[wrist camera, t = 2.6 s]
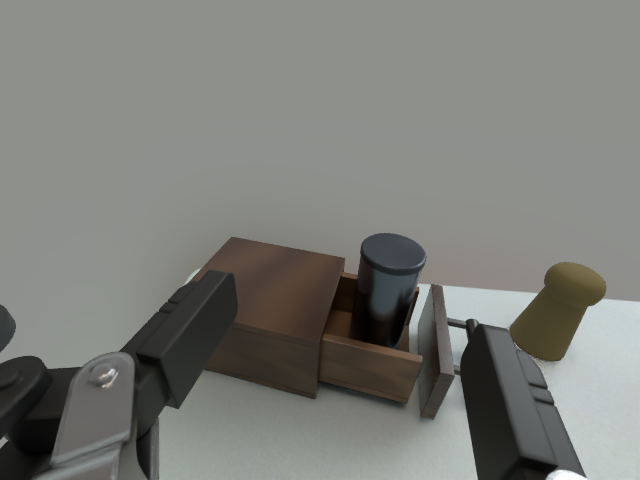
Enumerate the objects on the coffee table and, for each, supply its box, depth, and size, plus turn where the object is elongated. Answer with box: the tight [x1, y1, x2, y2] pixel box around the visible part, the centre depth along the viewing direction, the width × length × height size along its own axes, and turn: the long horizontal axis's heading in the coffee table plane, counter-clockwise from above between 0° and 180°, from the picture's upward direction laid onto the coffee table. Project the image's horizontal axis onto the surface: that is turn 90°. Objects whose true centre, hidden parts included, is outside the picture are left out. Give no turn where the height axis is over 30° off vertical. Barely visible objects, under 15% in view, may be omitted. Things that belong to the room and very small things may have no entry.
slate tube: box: [348, 233, 426, 350], centre depth 30 cm, size 6×6×13 cm
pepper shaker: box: [510, 262, 606, 361], centre depth 35 cm, size 6×6×11 cm
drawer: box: [318, 272, 479, 419], centre depth 32 cm, size 18×11×7 cm, turn 76°
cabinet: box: [189, 237, 345, 399], centre depth 34 cm, size 15×13×9 cm
